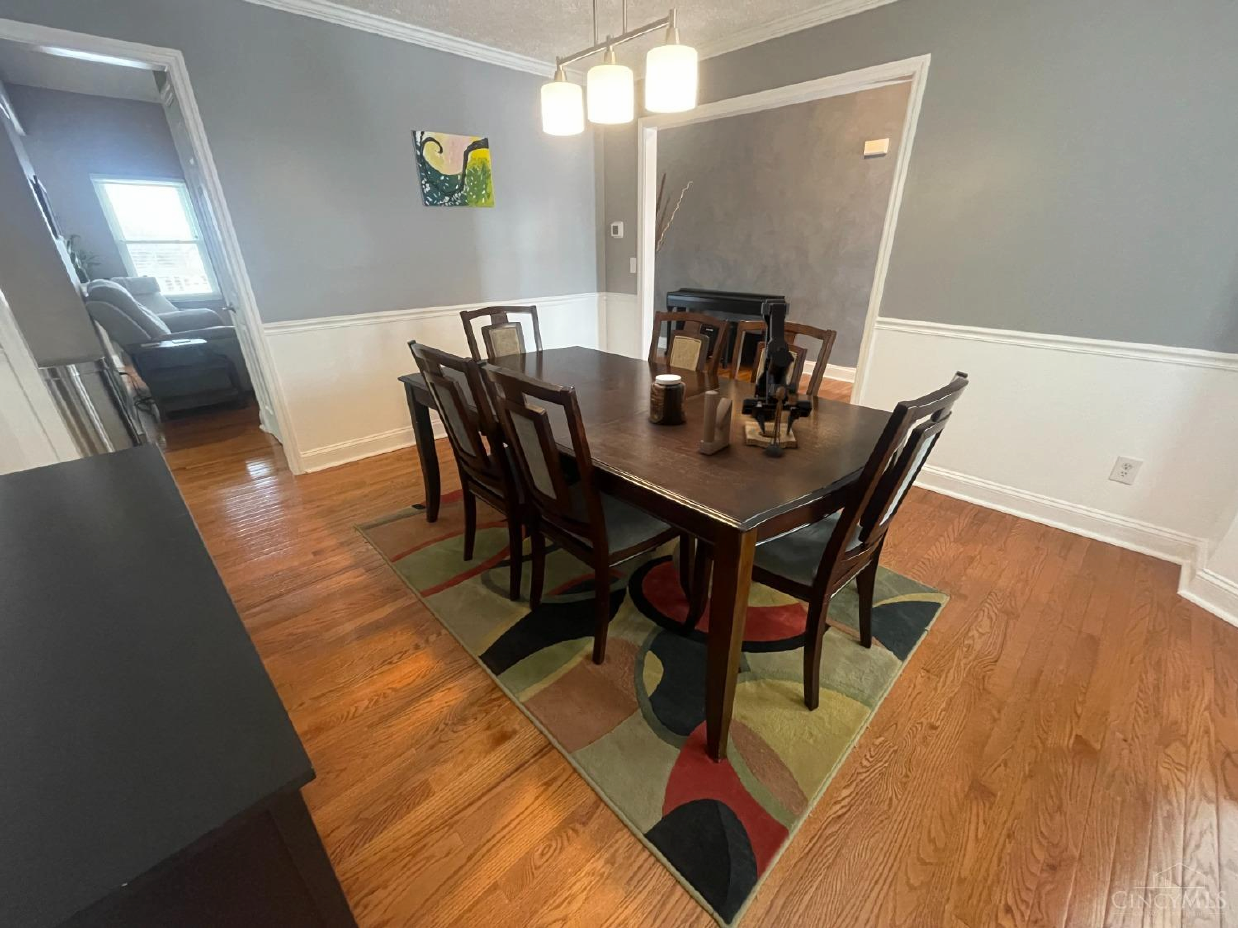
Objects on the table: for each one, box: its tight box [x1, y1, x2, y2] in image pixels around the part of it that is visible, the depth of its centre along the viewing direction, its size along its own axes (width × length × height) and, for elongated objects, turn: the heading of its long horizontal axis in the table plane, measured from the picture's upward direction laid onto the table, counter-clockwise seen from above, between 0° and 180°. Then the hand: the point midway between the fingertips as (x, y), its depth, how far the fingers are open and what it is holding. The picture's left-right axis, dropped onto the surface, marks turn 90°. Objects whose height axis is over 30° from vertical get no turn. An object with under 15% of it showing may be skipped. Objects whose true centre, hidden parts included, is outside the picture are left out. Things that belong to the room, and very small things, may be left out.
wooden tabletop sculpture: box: [764, 387, 786, 458], centre depth 137 cm, size 6×5×20 cm
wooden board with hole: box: [744, 421, 797, 449], centre depth 153 cm, size 18×14×2 cm
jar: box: [649, 374, 687, 426], centre depth 167 cm, size 12×12×15 cm
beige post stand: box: [699, 390, 734, 456], centre depth 142 cm, size 4×11×18 cm, turn 138°
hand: (775, 434), depth 137 cm, fingers open, 6 cm apart
